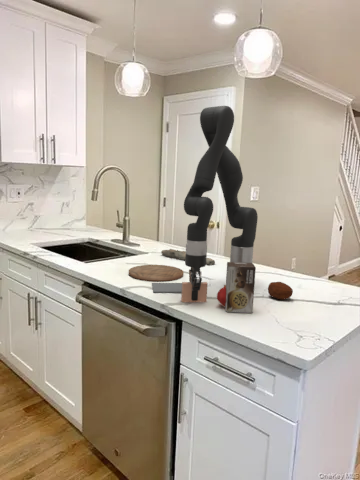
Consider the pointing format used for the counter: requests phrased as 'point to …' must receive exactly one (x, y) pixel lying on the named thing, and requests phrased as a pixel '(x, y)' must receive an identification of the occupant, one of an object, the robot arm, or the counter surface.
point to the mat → (167, 287)
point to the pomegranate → (222, 296)
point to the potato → (280, 290)
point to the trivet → (156, 273)
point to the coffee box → (240, 287)
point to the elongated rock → (182, 255)
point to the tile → (188, 292)
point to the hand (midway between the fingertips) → (193, 299)
